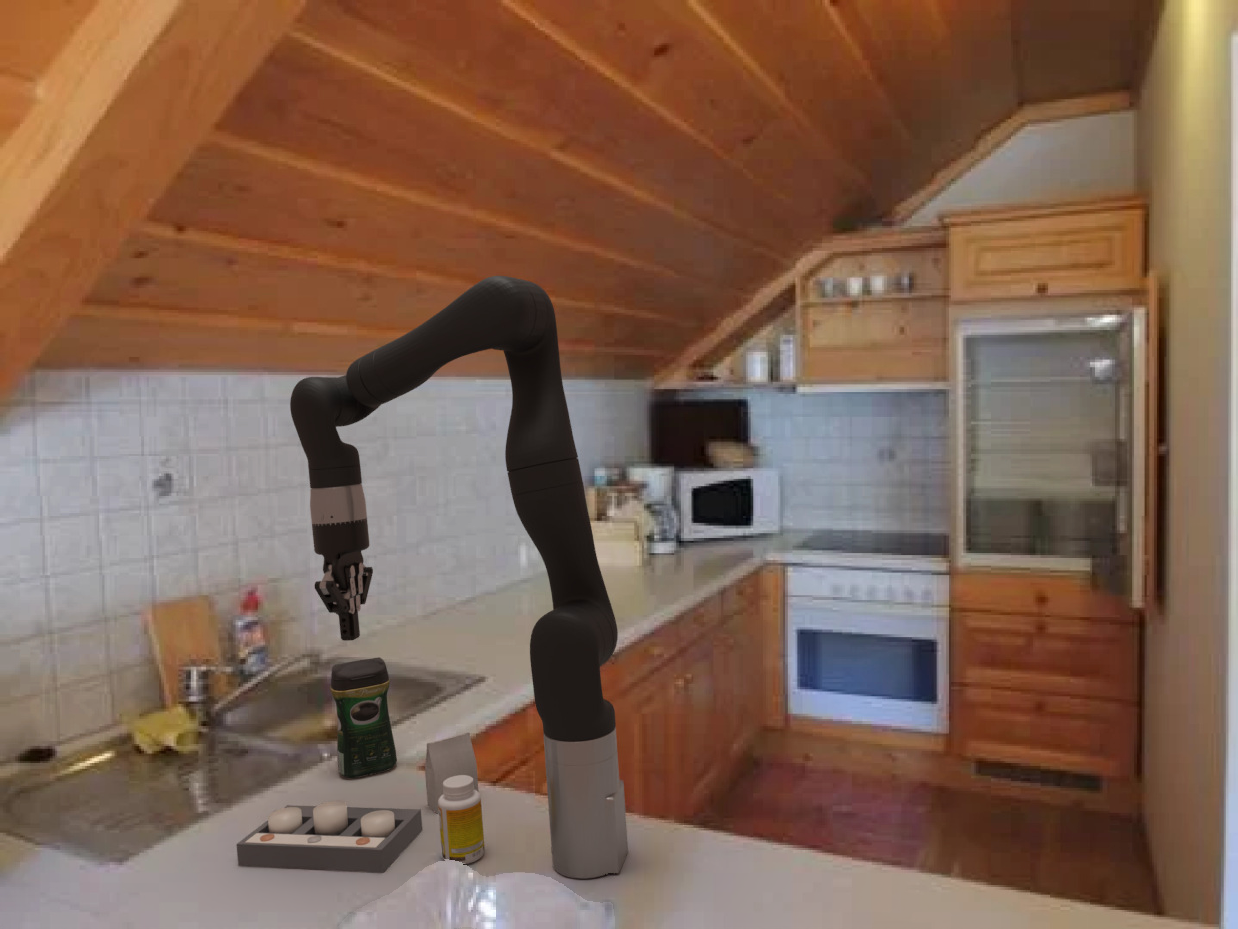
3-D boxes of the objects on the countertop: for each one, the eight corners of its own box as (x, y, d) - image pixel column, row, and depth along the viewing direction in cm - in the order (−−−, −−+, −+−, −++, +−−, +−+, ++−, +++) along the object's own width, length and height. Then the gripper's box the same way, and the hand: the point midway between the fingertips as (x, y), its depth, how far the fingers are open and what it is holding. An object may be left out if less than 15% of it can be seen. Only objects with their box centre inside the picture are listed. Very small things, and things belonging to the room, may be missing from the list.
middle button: (354, 822, 126) (352, 801, 126) (338, 837, 121) (336, 815, 121) (325, 821, 127) (323, 800, 127) (308, 836, 122) (306, 814, 122)
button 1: (309, 828, 127) (307, 807, 127) (291, 843, 123) (290, 821, 123) (281, 827, 128) (279, 806, 128) (262, 842, 124) (261, 820, 124)
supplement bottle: (493, 854, 119) (488, 778, 119) (459, 871, 115) (453, 793, 115) (467, 843, 123) (462, 769, 123) (433, 859, 119) (427, 783, 118)
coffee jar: (392, 756, 158) (384, 651, 157) (400, 771, 151) (392, 661, 150) (334, 768, 154) (326, 660, 153) (340, 783, 147) (331, 671, 146)
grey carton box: (479, 800, 137) (474, 736, 136) (437, 814, 133) (432, 747, 133) (468, 793, 140) (464, 729, 139) (427, 806, 136) (422, 741, 136)
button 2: (401, 832, 124) (399, 810, 124) (386, 847, 120) (384, 825, 120) (371, 830, 125) (370, 809, 125) (356, 845, 121) (354, 824, 121)
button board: (422, 830, 128) (420, 807, 128) (383, 872, 116) (381, 847, 116) (289, 825, 132) (287, 803, 132) (238, 866, 121) (236, 842, 120)
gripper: (340, 522, 121) (352, 650, 121) (384, 511, 133) (395, 627, 134) (289, 525, 122) (301, 652, 123) (338, 514, 135) (349, 629, 136)
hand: (350, 639), depth 128 cm, fingers closed
